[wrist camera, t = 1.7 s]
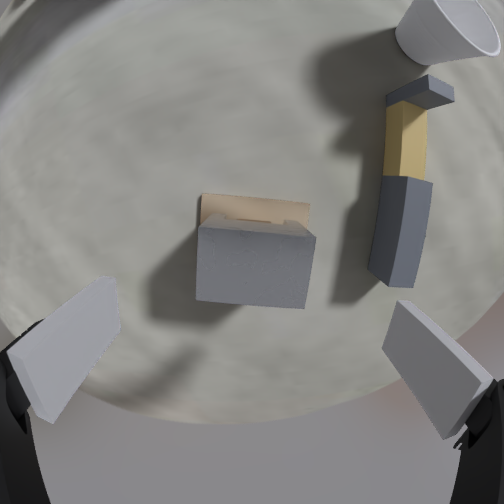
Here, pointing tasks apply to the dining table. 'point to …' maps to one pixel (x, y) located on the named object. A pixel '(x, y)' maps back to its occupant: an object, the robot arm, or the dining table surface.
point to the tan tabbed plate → (254, 209)
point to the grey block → (253, 262)
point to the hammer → (405, 182)
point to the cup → (446, 31)
